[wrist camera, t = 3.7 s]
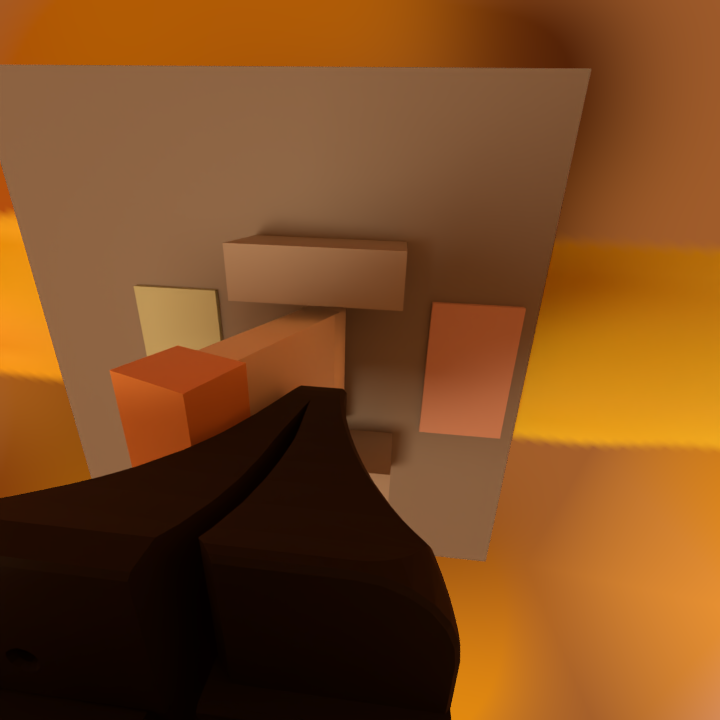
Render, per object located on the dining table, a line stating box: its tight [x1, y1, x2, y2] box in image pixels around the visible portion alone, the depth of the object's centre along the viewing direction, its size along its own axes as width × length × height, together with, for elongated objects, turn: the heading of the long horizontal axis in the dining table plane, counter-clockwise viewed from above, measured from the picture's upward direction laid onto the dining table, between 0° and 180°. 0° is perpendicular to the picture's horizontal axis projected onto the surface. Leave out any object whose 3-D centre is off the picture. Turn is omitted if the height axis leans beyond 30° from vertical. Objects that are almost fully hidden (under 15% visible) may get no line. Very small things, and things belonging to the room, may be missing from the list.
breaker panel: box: [0, 65, 591, 561], centre depth 15 cm, size 18×18×6 cm
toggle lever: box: [109, 305, 346, 467], centre depth 11 cm, size 2×5×7 cm, turn 177°
